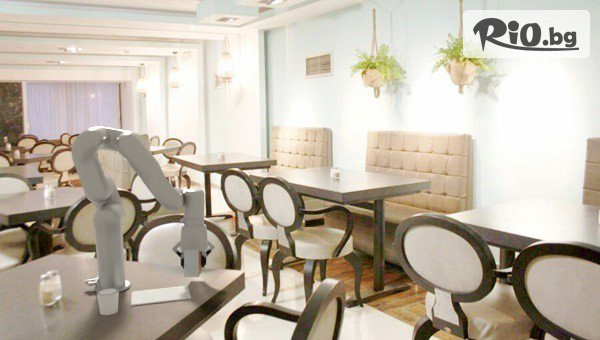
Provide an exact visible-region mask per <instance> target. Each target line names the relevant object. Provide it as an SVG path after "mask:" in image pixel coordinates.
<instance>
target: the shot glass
mask: <svg viewBox="0 0 600 340" xmlns="http://www.w3.org/2000/svg"><path fill="white" fill-rule="evenodd" d="M119 293H120V292H119V290H118V289H115V288H107V289H103V290H100V291H98V292H96V297H97V302H98V304H97V305H98V308H99V309H98V310H99V314H100V315H102V316H109V315H111V316H112V315H114V314H116V313H118V311H119V297H120V296H119Z"/></svg>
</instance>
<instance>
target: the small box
mask: <svg viewBox="0 0 600 340" xmlns="http://www.w3.org/2000/svg"><path fill="white" fill-rule="evenodd" d="M202 256H203V253H202V252H200V249H194V250H184V269H183V272H184V273H183V277H184V278H199V277H200V275H201V274H202V272H203V267H202Z"/></svg>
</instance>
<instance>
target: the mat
mask: <svg viewBox="0 0 600 340" xmlns="http://www.w3.org/2000/svg"><path fill="white" fill-rule="evenodd" d="M130 299H131V300H130V306H131V307H136V305H137V306H145V305H152V304H159V303H160V304H163V303H169V302H177V301H186V300H188V301H189V300H192V297H191V292H190V289H189V285H179V286H171V287H162V288H161V287H160V288H152V289H142V290H134V291H131V298H130Z"/></svg>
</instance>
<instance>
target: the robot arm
mask: <svg viewBox="0 0 600 340" xmlns="http://www.w3.org/2000/svg"><path fill="white" fill-rule="evenodd" d="M100 150H104V151H111V152H116V153H118V154H119V155H120V156H121V157H122V158H123V159H124V160H125V162H126V163H127V164H128V165H129V166H130V168H131V169H132V170H133V171H134V172H135V173H136V174H137V176H138V177H139V178H140V180H141V182H142V183H143V184H144V185H145V186H146V188H147V189H148V191H149V192H150V193H151V195H152V196H153V197H154V198H155V199H156V201H157V202H158V203H159V204H160V205H161V207H163V208H164V209H165V210H166V211H167V212H171V213H172V212H173V213H174V212H177V211H180V210H181V208H183V217H182V218H179V223H182V225H181V229H180V237H179V239H180V240H179V241H178V242H177V243H176V244H175V245H174V246H173V247H171V249H172V251H173V252H174V253H175V254H176V255H177V256H178V258H180V267H182V269H183V270H184V250H194V249H200V252H202V253H203V256H202V269H204V268H205V267H206V265H207V257H208V256H209V255H210V254H211V253H212V252H213V250H215V248H216V247H215V245H214V244H213V243H212V242H211V241H209V240H208V229H207V224H205V191H204V190H203V189H201V188H181V187H174V186H173V185H172V184H171V182H170V181H169V180H168V178H167V176H165V174H164V172H163V170H162V167H161V165H160V163H159V162H158V159H156V158H155V156H153V155H152V153H151V152H150V151H149V149H148V148H146V146H145V145H144V144H143V142H142V139H141V137H140V135H139V134H138V133H136V132H134V131H131V130H123V129H116V128H111V127H106V126H99V125H98V126H93V127H92V126H91V127H88V128H86V129H84V130H83V131H81V133H79V135H78V136H76V138H75V139H74V141H73V142H72V145H71V152H70V153H71V158H72V162H73V165H74V167H75V170H76V172H77V176H78V178H79V181H80V185H81V186H82V189H83V192H84V193H83V194H84V195H85V197H86V199H87V200H89V201H90V202H91V203H94V205H95V207H96V210H95V212H94V215H93V218H92V225H93V231H94V237H95V251H96V264H97V277H94V278H89V279H85V280H84V281H85V282H84V283H85V286H88V287H92V286H94V287H93V289H94V292H95V293H97V292H98V291H100V290H103V289H107V288H115V289H118V290H119V293H121V292H123V291H126V290H128V289H129V288H130V287H131V282H130V281H129V280H126V268H125V267H126V265H125V252H124V251H125V250H124V249H125V247H124V236H123V227H122V226H123V225H122V221H123V219H124V217H125V207H124V203H123V202H122V199H121V196H120V193H119V191H118V189H117V185H116V183H115V181H114V180H113V178H112V177H110V176H109V175H108V174H105V172H104V170H103V169H104V168H103V166H102V163H101V161H100V159H99V157H98V152H99V151H100ZM208 247H209V248H208ZM178 248H180V250H178Z"/></svg>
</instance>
